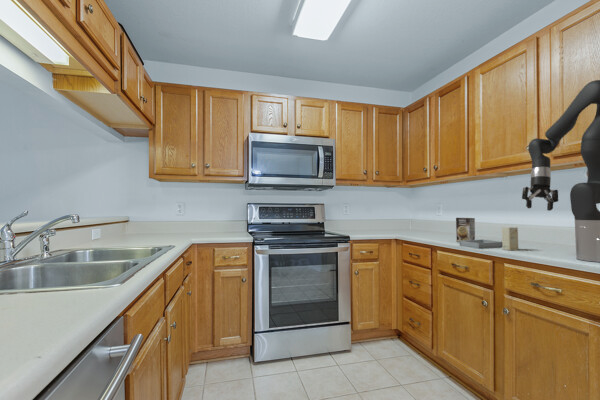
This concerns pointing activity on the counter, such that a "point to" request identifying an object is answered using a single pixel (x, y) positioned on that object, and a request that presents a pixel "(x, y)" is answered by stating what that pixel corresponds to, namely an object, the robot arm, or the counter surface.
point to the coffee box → (465, 229)
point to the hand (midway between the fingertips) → (539, 209)
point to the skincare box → (510, 238)
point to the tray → (481, 244)
